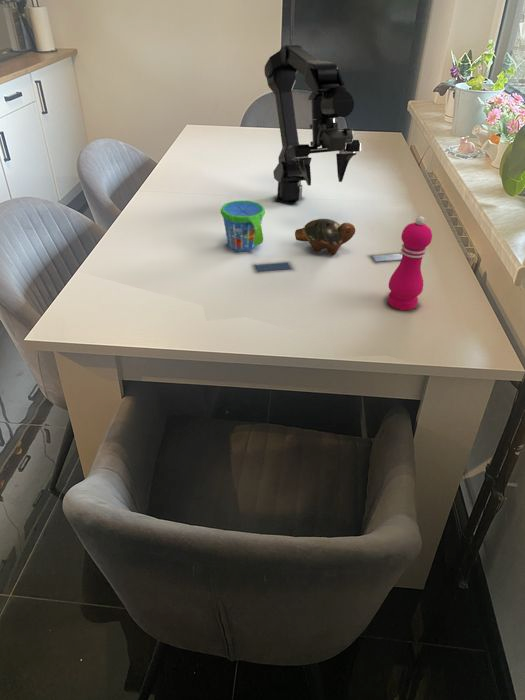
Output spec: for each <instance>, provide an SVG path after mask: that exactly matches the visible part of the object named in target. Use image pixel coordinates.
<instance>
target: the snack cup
mask: <svg viewBox="0 0 525 700" xmlns="http://www.w3.org/2000/svg"><path fill="white" fill-rule="evenodd" d="M265 213H266V210H265V207H264V206H263V205H262V204H260V203H258V202H255V201H250V200H233V201H230V202H227V203H224V204H223V205H222V206H221V208H220V214H221V216H222V219H223V225H224V231H225V235H226V241H227V245H228V247H229V248H230V249H232V250H234V251H236V252H249V251H252V250H254V249H256V247H257V246H259V245H261V244H262V243H263V242H264V234H263V229H262V228H263V227H262V222H263V218H264V216H265Z"/></svg>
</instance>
